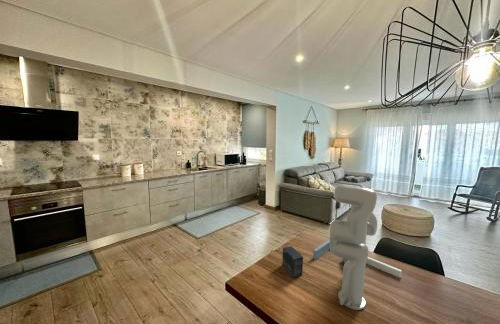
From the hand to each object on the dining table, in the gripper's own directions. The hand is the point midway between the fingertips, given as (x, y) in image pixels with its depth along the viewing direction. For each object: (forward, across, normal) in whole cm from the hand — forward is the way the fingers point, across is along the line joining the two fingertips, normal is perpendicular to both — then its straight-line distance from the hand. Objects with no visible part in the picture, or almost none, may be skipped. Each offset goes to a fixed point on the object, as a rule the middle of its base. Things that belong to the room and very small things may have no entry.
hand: (357, 261), depth 132 cm
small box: (+6, -31, +26) cm, 41 cm away
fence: (+5, +1, +2) cm, 6 cm away
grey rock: (+6, +1, +5) cm, 7 cm away
